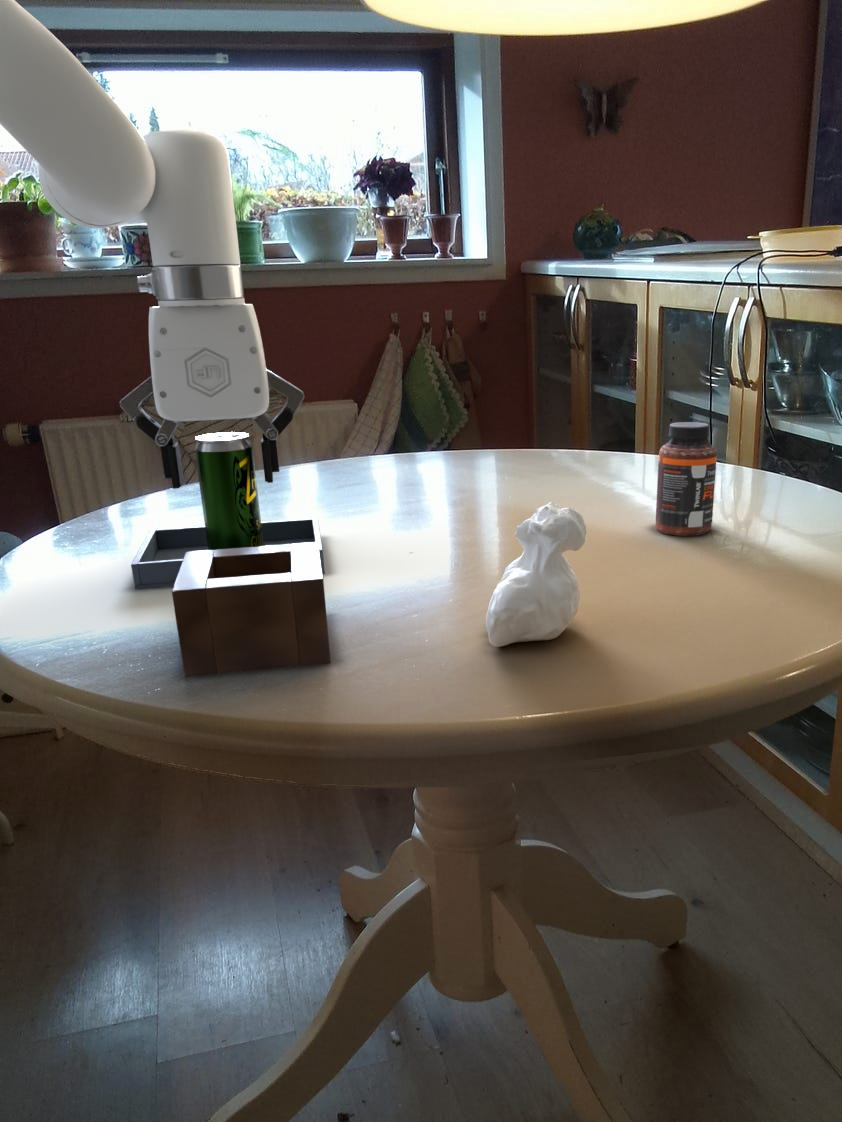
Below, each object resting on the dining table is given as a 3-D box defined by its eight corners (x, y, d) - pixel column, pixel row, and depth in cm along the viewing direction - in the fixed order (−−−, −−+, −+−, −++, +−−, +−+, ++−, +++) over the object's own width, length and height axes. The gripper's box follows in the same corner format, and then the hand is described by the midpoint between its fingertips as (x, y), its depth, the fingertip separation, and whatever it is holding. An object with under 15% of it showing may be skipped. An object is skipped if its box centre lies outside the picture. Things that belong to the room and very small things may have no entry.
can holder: (184, 678, 65) (171, 591, 63) (197, 629, 74) (185, 551, 72) (331, 664, 67) (323, 578, 64) (325, 618, 76) (318, 541, 74)
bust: (512, 690, 67) (608, 581, 61) (433, 621, 67) (521, 507, 62) (560, 634, 77) (645, 536, 72) (491, 575, 78) (571, 473, 72)
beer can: (205, 567, 89) (188, 442, 85) (213, 552, 94) (197, 433, 90) (262, 564, 90) (248, 439, 85) (267, 549, 95) (253, 430, 90)
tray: (135, 590, 84) (130, 564, 83) (153, 552, 96) (150, 529, 96) (324, 575, 87) (322, 549, 86) (319, 540, 99) (317, 517, 99)
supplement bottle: (712, 539, 96) (719, 428, 92) (653, 537, 97) (658, 428, 93) (711, 525, 101) (718, 420, 97) (656, 523, 102) (660, 419, 98)
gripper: (89, 291, 78) (123, 497, 84) (299, 286, 81) (316, 485, 87) (105, 291, 85) (135, 481, 91) (298, 286, 88) (314, 470, 94)
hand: (224, 482), depth 89 cm, fingers open, 8 cm apart
